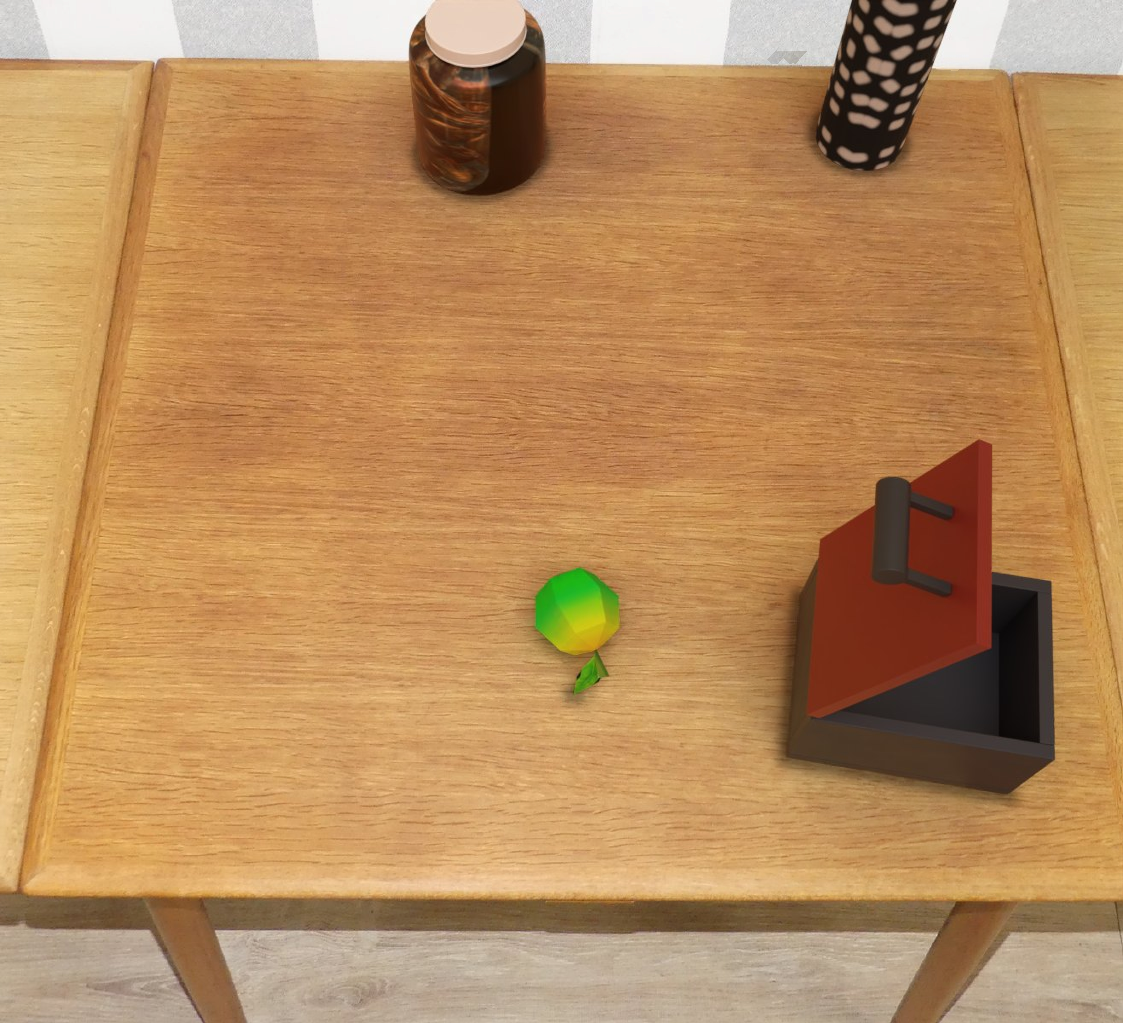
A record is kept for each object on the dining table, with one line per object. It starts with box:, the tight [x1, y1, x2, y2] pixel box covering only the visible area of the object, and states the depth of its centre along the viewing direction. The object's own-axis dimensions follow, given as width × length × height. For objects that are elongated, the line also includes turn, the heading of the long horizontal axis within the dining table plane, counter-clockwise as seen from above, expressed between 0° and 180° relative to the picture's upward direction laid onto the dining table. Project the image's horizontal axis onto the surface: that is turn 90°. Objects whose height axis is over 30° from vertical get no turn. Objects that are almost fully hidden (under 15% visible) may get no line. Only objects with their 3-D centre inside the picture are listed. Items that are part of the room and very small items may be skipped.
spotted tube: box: [815, 0, 958, 172], centre depth 108 cm, size 8×8×20 cm
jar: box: [408, 0, 547, 196], centre depth 108 cm, size 12×12×15 cm
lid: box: [806, 438, 993, 718], centre depth 75 cm, size 17×13×6 cm
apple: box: [534, 566, 621, 696], centre depth 90 cm, size 7×6×9 cm
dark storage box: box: [785, 556, 1056, 795], centre depth 87 cm, size 16×13×9 cm
